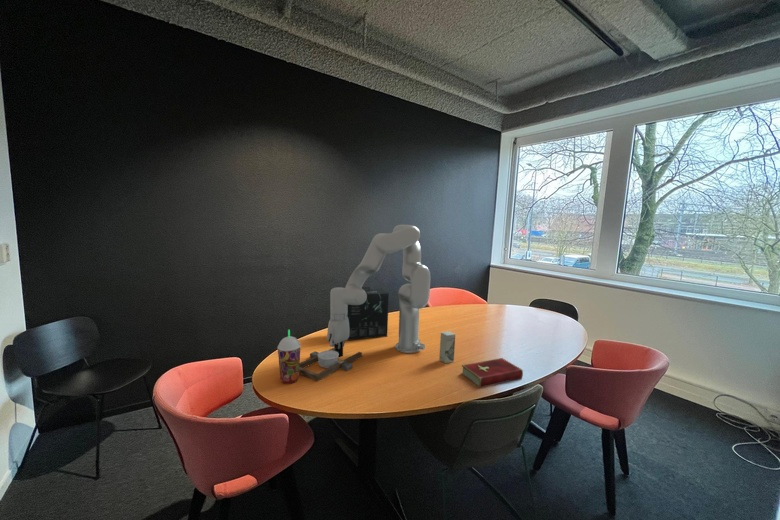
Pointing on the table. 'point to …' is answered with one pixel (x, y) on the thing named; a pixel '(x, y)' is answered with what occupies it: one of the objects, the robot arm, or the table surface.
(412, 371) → the table surface
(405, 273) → the robot arm
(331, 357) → the ramekin
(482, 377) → the hardcover book
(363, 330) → the headset box
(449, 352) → the box
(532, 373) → the table surface
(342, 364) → the beam track
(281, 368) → the smoothie
